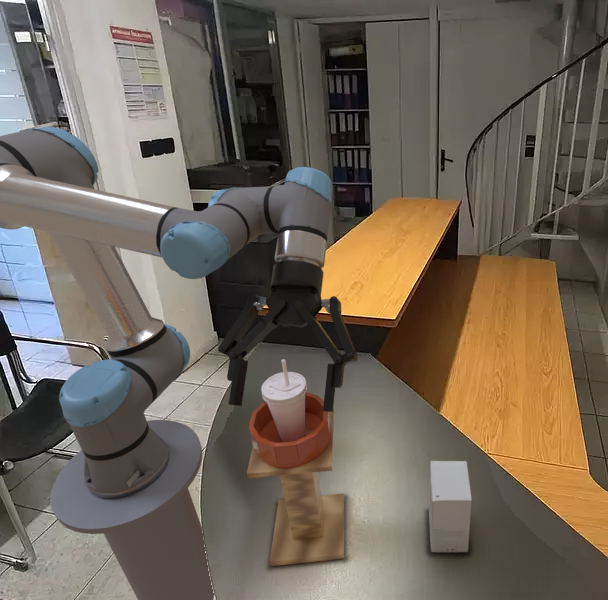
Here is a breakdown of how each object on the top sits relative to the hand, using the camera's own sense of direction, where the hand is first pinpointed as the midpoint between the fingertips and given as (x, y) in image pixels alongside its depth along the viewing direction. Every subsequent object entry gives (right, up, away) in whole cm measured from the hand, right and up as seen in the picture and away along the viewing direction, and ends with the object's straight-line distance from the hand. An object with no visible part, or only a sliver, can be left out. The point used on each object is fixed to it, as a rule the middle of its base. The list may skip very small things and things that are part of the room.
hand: (280, 408), depth 68 cm
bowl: (+1, -6, +6) cm, 8 cm away
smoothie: (+1, -5, +5) cm, 8 cm away
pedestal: (+1, -25, +17) cm, 30 cm away
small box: (+25, -25, +16) cm, 39 cm away
